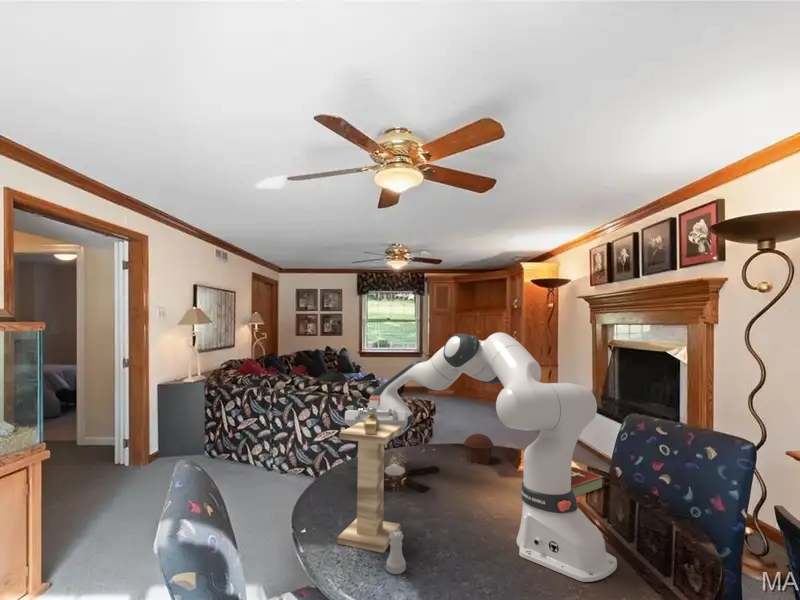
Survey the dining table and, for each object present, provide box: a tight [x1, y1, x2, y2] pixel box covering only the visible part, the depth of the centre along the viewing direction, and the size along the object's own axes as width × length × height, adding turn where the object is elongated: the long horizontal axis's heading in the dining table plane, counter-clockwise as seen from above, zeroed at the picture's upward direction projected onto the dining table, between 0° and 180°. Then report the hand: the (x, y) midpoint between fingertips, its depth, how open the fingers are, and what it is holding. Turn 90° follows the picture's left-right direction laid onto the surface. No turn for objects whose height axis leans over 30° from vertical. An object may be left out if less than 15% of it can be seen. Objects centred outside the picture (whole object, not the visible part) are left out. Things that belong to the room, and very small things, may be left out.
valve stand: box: [336, 415, 402, 554], centre depth 111 cm, size 12×12×30 cm
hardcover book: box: [571, 466, 604, 497], centre depth 144 cm, size 12×21×4 cm, turn 124°
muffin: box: [463, 433, 494, 465], centre depth 171 cm, size 12×11×10 cm
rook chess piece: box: [385, 529, 407, 575], centre depth 96 cm, size 4×4×8 cm
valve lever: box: [366, 395, 380, 415], centre depth 120 cm, size 19×3×2 cm, turn 0°
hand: (375, 410), depth 136 cm, fingers open, 8 cm apart
